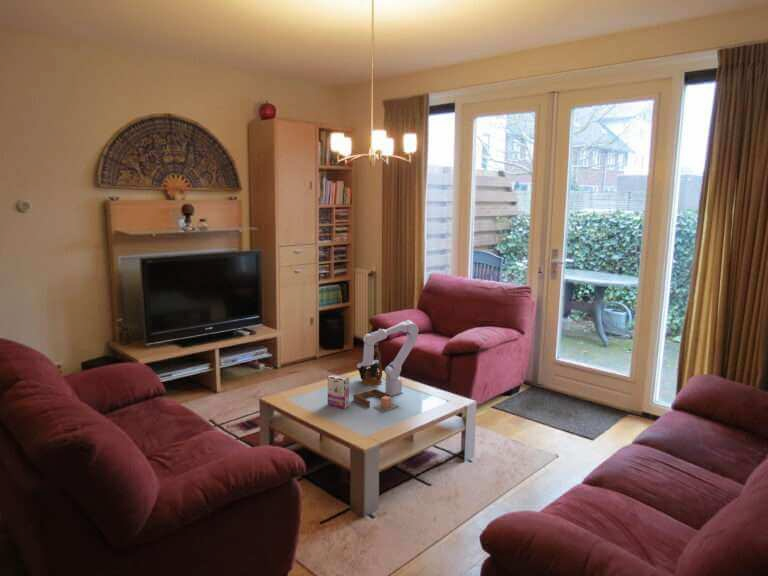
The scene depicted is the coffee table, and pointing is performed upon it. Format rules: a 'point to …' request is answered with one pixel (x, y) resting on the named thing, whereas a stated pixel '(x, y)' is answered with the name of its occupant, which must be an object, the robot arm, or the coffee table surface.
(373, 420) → the coffee table surface
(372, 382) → the lantern
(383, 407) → the grey mat
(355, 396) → the walnut arch
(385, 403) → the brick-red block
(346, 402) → the candy bar box
